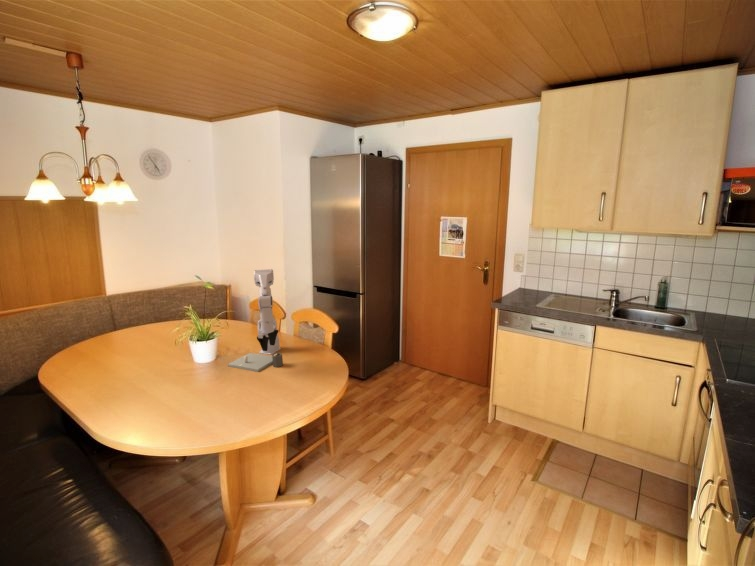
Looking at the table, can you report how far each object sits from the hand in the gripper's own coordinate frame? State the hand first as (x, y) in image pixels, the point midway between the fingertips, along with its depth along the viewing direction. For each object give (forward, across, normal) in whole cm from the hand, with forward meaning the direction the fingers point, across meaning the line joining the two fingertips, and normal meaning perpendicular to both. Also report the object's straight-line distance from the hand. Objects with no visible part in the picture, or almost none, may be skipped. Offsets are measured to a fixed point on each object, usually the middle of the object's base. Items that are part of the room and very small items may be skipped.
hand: (268, 347), depth 202 cm
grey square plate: (+10, -2, -10) cm, 14 cm away
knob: (+10, -2, +3) cm, 10 cm away
